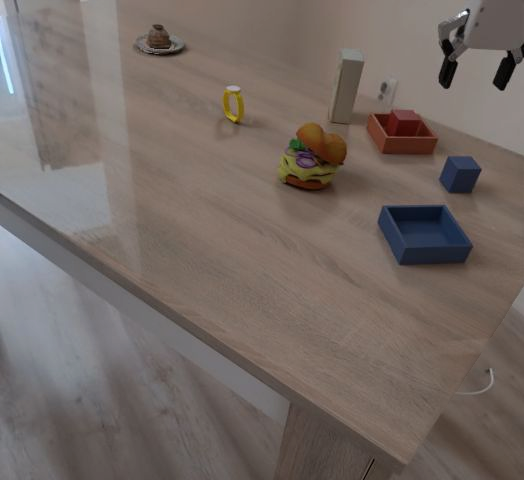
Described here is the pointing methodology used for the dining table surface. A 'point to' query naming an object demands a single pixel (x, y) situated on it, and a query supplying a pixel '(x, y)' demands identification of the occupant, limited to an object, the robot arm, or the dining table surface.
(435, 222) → the blue tray
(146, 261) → the dining table surface
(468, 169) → the blue block
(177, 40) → the pastry
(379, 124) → the terracotta tray
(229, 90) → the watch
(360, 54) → the cosmetic box
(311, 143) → the cheeseburger
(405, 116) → the red block
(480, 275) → the dining table surface
